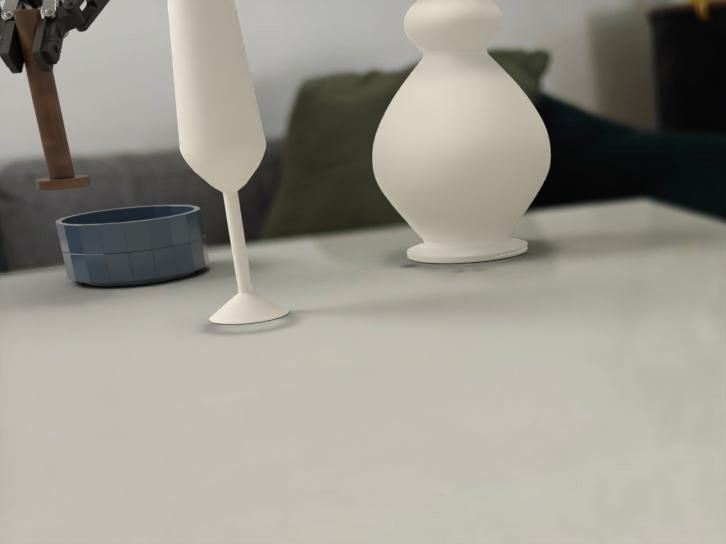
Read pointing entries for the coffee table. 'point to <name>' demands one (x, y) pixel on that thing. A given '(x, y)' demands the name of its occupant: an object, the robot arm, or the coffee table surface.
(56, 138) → the stirring stick
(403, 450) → the coffee table surface
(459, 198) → the decorative vase
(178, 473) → the coffee table surface
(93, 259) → the bowl
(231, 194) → the champagne flute
